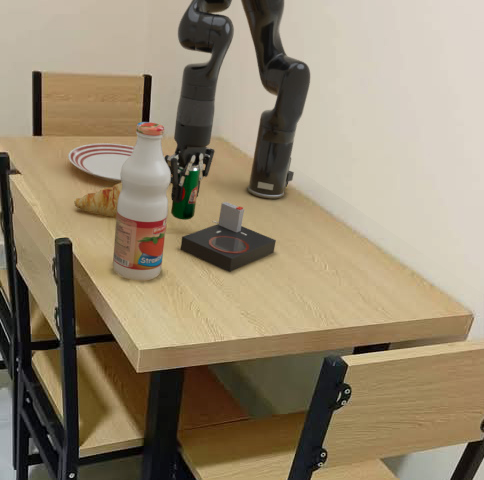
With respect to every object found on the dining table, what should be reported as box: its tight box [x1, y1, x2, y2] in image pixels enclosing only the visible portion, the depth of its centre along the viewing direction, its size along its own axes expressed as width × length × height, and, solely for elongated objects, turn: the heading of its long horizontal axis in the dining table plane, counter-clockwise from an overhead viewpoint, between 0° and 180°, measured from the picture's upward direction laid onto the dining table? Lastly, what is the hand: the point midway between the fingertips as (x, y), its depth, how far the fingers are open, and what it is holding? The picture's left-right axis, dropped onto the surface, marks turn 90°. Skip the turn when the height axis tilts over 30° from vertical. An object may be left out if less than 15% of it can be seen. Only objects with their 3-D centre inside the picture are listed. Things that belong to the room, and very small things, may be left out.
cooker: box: [180, 220, 277, 273], centre depth 157 cm, size 17×15×3 cm
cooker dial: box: [217, 201, 245, 232], centre depth 159 cm, size 5×2×5 cm, turn 50°
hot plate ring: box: [209, 236, 249, 254], centre depth 152 cm, size 8×8×1 cm
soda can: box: [170, 163, 200, 221], centre depth 158 cm, size 5×5×12 cm
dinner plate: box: [67, 142, 165, 184], centre depth 191 cm, size 28×27×3 cm
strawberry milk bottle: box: [112, 121, 172, 282], centre depth 136 cm, size 9×9×28 cm
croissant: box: [73, 183, 122, 218], centre depth 167 cm, size 21×10×8 cm, turn 109°
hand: (184, 198), depth 159 cm, fingers closed on soda can, 5 cm apart
